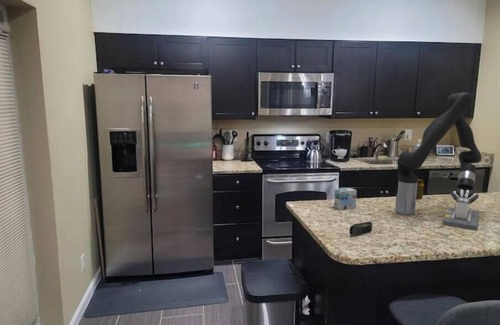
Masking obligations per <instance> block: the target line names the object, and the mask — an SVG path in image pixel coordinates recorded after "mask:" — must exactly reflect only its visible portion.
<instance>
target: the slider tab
mask: <svg viewBox="0 0 500 325" xmlns="http://www.w3.org/2000/svg"><path fill="white" fill-rule="evenodd" d="M464 199H465V198H463V199H460V198H459V199H457V202H456V206H455V207H456V216H455V217H456V218H462V219H467V217H468V210H469V209H470V207H469V206H470V204H469V201H470V200H469V199H468V200H464Z"/></svg>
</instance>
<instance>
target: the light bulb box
mask: <svg viewBox="0 0 500 325" xmlns="http://www.w3.org/2000/svg"><path fill="white" fill-rule="evenodd" d="M333 200H334V202H333V207H334V208H336V209H338V210H339V211H340V210H354V209H356V207H357V189H354V188H352V187H344V188H341V187H340V188H334V199H333Z"/></svg>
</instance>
